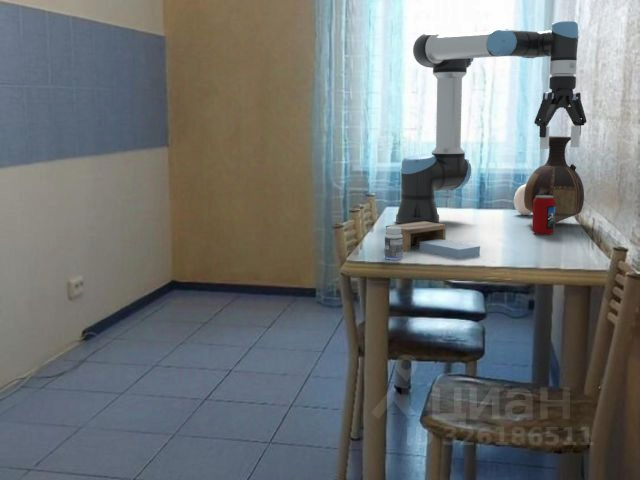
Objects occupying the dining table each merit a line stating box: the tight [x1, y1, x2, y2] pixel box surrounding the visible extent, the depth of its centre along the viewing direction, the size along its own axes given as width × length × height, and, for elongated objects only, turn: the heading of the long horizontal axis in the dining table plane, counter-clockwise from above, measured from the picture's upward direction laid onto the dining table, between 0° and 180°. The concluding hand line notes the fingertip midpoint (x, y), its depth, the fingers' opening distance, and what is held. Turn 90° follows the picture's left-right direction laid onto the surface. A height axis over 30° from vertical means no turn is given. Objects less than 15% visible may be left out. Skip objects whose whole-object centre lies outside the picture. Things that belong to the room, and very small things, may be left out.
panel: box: [418, 239, 481, 260], centre depth 208 cm, size 15×8×3 cm, turn 36°
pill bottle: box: [384, 225, 403, 261], centre depth 201 cm, size 5×5×8 cm
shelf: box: [385, 221, 447, 253], centre depth 218 cm, size 9×15×6 cm, turn 127°
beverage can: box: [531, 195, 556, 236], centre depth 239 cm, size 7×7×12 cm
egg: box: [513, 183, 533, 216], centre depth 282 cm, size 9×9×11 cm
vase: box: [524, 135, 585, 224], centre depth 256 cm, size 23×19×30 cm
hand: (559, 148), depth 228 cm, fingers open, 13 cm apart
